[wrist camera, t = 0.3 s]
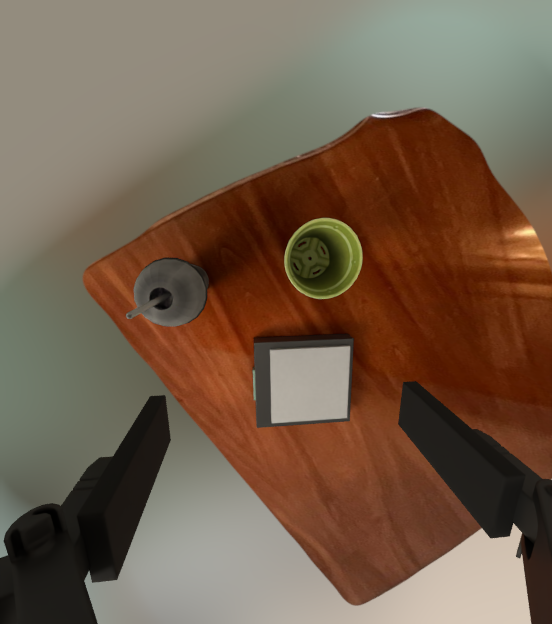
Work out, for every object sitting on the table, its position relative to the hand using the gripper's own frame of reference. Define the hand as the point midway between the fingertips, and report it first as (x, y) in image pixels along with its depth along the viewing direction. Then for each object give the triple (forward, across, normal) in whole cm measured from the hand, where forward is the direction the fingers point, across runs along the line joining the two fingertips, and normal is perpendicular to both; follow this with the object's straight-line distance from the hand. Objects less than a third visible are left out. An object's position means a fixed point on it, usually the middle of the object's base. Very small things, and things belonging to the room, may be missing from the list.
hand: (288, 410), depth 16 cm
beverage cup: (+28, -10, +3) cm, 30 cm away
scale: (+28, +6, -13) cm, 31 cm away
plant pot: (+28, +7, +6) cm, 30 cm away
